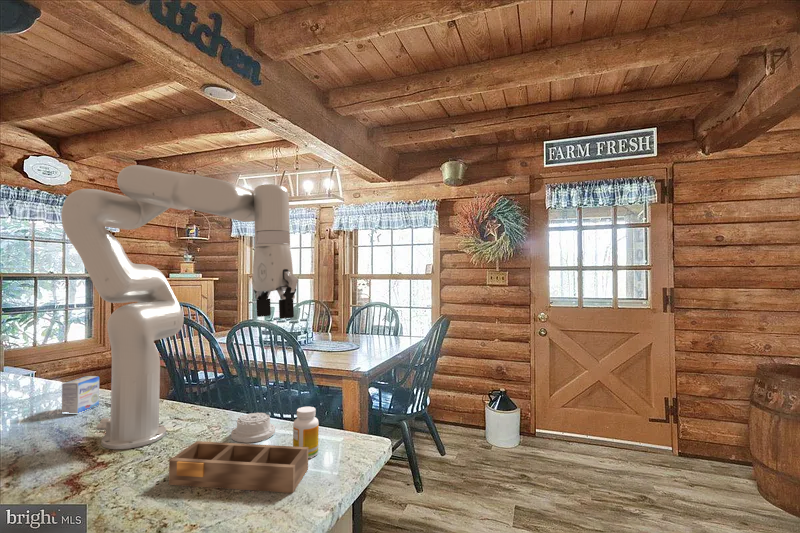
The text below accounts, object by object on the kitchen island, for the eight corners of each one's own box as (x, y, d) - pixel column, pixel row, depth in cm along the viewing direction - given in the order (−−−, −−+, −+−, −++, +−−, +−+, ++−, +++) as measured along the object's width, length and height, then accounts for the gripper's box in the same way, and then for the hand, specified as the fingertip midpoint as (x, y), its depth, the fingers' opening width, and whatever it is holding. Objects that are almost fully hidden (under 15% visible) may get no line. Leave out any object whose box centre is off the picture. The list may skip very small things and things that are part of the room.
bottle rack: (167, 486, 74) (167, 461, 74) (196, 463, 83) (196, 441, 83) (292, 494, 72) (292, 468, 72) (308, 469, 80) (308, 447, 81)
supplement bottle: (321, 450, 90) (322, 406, 90) (312, 461, 84) (313, 414, 85) (299, 448, 91) (299, 404, 91) (288, 458, 85) (289, 412, 85)
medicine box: (77, 415, 109) (78, 383, 109) (60, 415, 109) (61, 383, 109) (99, 405, 117) (100, 375, 117) (84, 405, 117) (84, 375, 117)
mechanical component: (222, 441, 94) (261, 446, 92) (222, 422, 94) (261, 426, 92) (246, 426, 104) (282, 429, 102) (247, 408, 104) (282, 411, 102)
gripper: (238, 243, 94) (240, 317, 93) (277, 236, 82) (280, 320, 82) (268, 244, 99) (270, 314, 99) (309, 238, 87) (311, 317, 87)
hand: (274, 317), depth 90 cm, fingers open, 9 cm apart
